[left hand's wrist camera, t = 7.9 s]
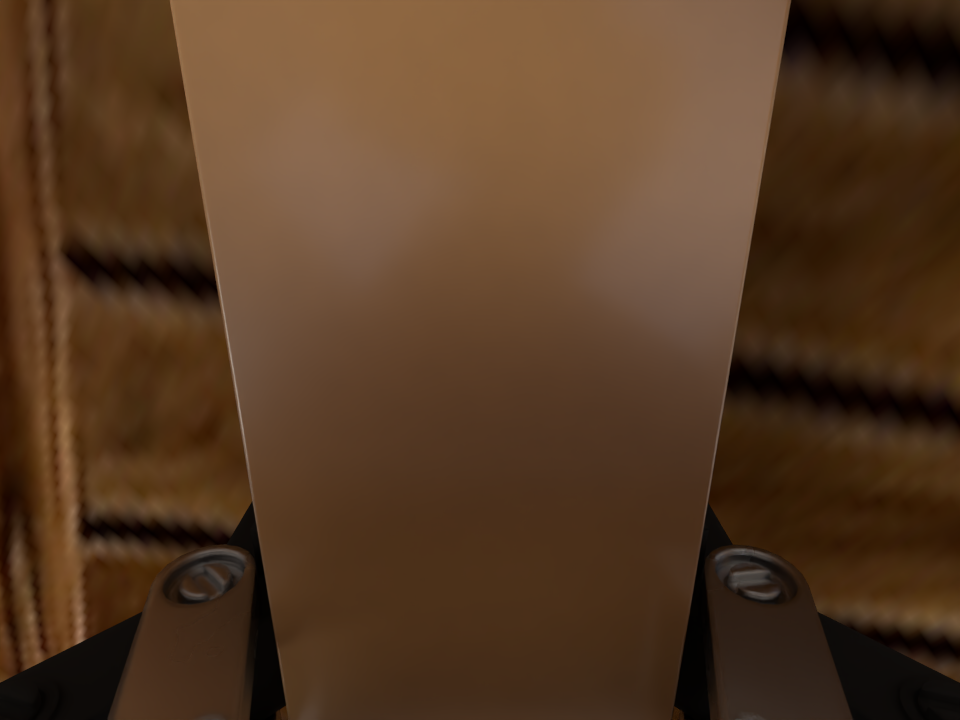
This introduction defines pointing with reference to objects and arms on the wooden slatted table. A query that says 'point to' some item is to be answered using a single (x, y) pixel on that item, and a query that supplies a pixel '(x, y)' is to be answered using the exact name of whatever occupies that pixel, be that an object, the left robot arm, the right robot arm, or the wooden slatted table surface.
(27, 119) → the wooden slatted table surface
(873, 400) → the wooden slatted table surface
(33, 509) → the wooden slatted table surface
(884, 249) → the wooden slatted table surface
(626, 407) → the bar
